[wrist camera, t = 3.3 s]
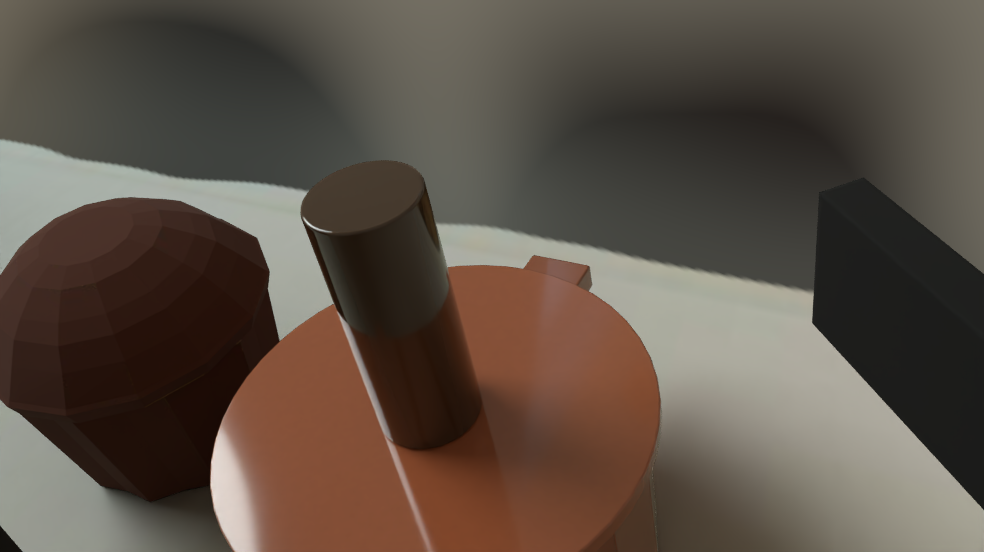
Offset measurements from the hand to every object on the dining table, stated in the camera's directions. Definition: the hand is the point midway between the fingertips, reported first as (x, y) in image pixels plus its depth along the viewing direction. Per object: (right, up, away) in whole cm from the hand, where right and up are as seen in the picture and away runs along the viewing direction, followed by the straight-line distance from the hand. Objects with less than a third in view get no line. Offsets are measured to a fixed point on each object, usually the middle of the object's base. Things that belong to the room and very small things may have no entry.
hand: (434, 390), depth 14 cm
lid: (-1, -3, +14) cm, 15 cm away
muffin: (-12, -4, +26) cm, 29 cm away
